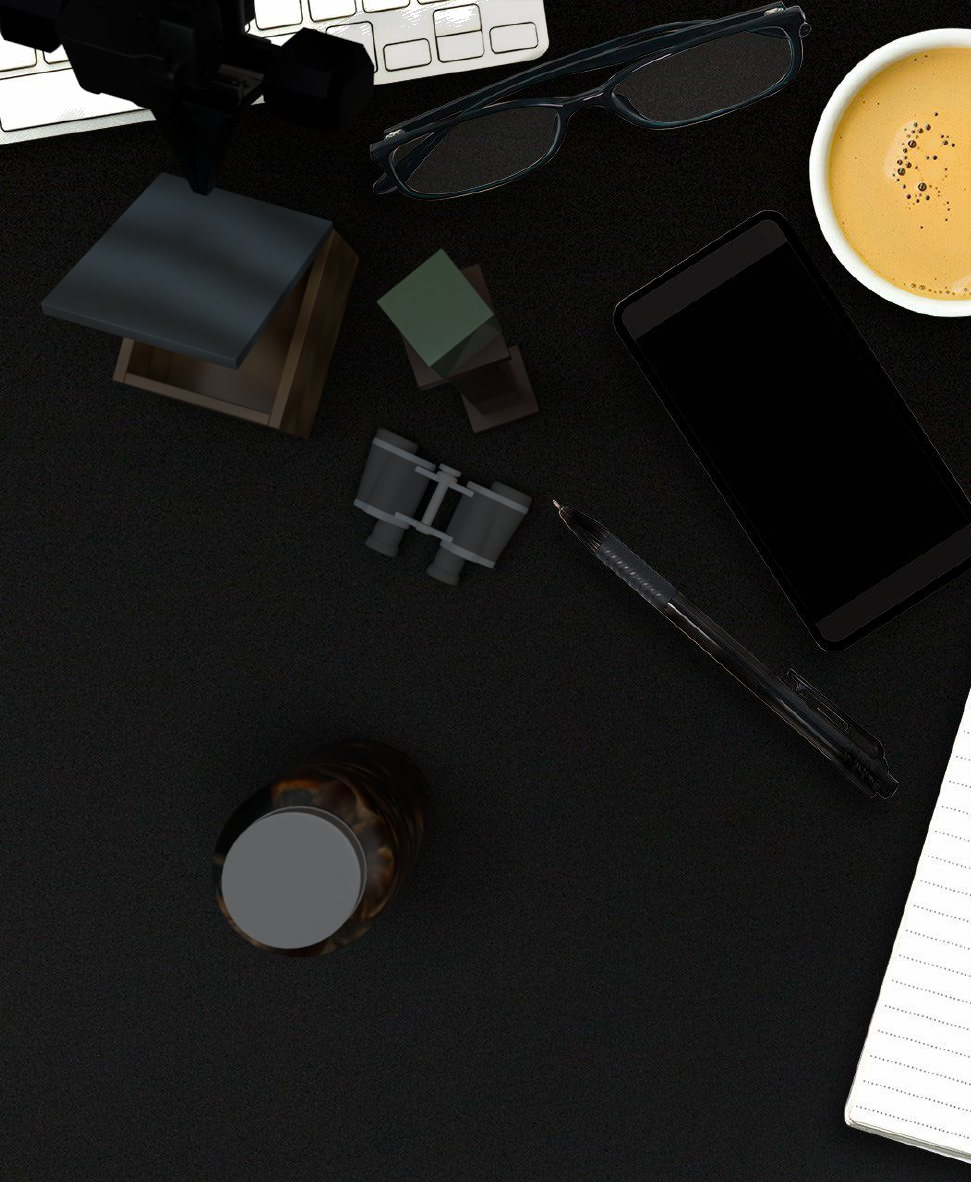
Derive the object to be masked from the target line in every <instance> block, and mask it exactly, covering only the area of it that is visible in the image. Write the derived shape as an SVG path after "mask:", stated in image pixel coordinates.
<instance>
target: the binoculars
mask: <svg viewBox="0 0 971 1182" xmlns="http://www.w3.org/2000/svg"><path fill="white" fill-rule="evenodd" d="M418 449H419V445H418V443H415V442H413V441H412V440H409V439H407V438H406V437H403V436H400V435H399V434H396V433H394V432H392V431H390V430H387V429H386V428H383V427H379V428H378V429H377V432H376V434H375V436H374V438H373V440H372V442H371V446H370V449H369V454H368V457H367V459H366V463H365V467H364V470H363V473H362V477H361V480H360V484H359V487H358V491H357V495H356V497H355V499H354V502H353V506H355V507H357V508H359V509H361V510H362V511H363V512H365V514H368V515H370V516H372V517H374V518H376V519H378V520H377V522H375V523H376V524H374V525H375V526H374V528H373V530H372V533H371V534H370V535H368V536H367V538H366V540H365V542H364V545H365V546H366V547H368V548H370V549H372V550H373V551H376V552H378V553H380V554H383V555H385V556H388V557H390V558H396V557H397V555H398V553H399V551H400V550H399V544H400V543H401V542H402V539H403V537H404V535H405V531H406V530H409V528H410V527H411V526H412V527H414V528H415V530H416V531H418V532H420V533H422V534H424V535H428V536H429V535H431V536H435V537H436V538H439V539H441V540H440V543H439V546H440V547H439V549H438V550H437V552H436V554H435V557H434V560H433V562H432V563H430V564H429V565H428V567H427V569H426V571H425V573H426V574H427V575H428V576H430V577H432V578H434V579H437V580H438V581H441V582H442V583H445V584H448V585H450V586H454V587H457V586H458V584H459V582H460V572H462V570H463V568H464V566H465V563H466V560H467V561H470V562H472V563H475V564H479V565H482V566H483V567H486V568H489V569H494V568H495V565H496V562H497V561H498V559H499V557H500V556H501V554H502V553H503V551H504V550H505V548H506V546H507V545H508V543H509V541H510V540H511V539H512V536H513V535H514V533H515V532H516V530H517V529H518V527H519V526H520V525H521V523H522V521H523V519H524V518H525V516H526V515H527V514H528V511H529V508H530V506H531V504H532V501H533V497H532V496H529V495H528V494H526V493H524V492H522V491H519V490H517V489H515V488H513V487H511V486H509V485H506V484H504V483H502V482H500V481H497V480H495V481H493V482H492V485H491V487H490V489H488V488H487V487H484V486H481V485H479V484H478V483H475V482H473V481H471V480H468V481H467V484H466V486H462V485H460V484H458V483H457V482H458V479H457V478H460V477H461V475H462V472H461V471H459V470H456V469H454V468H452V467H450V466H448V465H446V464H444V463H440V464H439V467H438V468H439V470H438V471H437V472H436V473H434V472H435V471H436V468H437V465H436V464H434V463H432V462H430V461H428V460H427V459H424V458H422V457H419V456H418V455H416V452H417V450H418ZM431 480H433V481H435V482H437V483H438V484H437V486H436V487H435V490H434V492H433V494H432V497H431V499H430V501H429V503H428V505H427V508H426V510H425V512H424V515H423V517H422V519H421V521H420V520H417V519H416V518H414V516H415V514H416V512H417V510H418V507H419V505H420V503H421V501H422V498H423V496H424V494H425V492H426V489H427V488H428V485H429V482H430V481H431ZM449 488H450V489H452V490H455V491H457V492H459V493H461V498H460V499H459V501H458V502H459V503H458V504H457V506H456V507H455V508H456V509H455V511H454V512H453V514H452V517H451V520H450V521H449V524H448V525H447V528H446V530H445V532H443V531H442V530H439V529H436V528H435V527H433V526H432V524H433V522H434V519H435V517H436V515H437V513H438V510H439V509H440V507H441V504H442V502H443V500H444V497H445V495H446V493H447V491H448V489H449Z"/></svg>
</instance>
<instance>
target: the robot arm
mask: <svg viewBox="0 0 971 1182" xmlns="http://www.w3.org/2000/svg"><path fill="white" fill-rule="evenodd" d="M255 19H256V2H255V0H0V36H1V38H2V39H3V41H6V42H9V43H12V44H16V45H18V46H19V45H20V46H22V47H26V48H30V49H33V50H37V51H41V52H43V53H47V54H52V53H54V52H55V51H57V50H58V49H59V48H60V47H62V48H63V51H64V53H65V55H66V58H67V60H68V62H69V65H70V67H71V69H72V72H73V75H74V77H75V78H76V79H75V80H76V82H77V83H78V85H79V87H80V88H81V89H82V90H83V91H86V92H87V93H90V94H93V95H95V96H96V95H98V96H99V95H101V94H103V95H107V96H109V97H113V98H117V99H119V100H124V101H128V102H131V103H132V104H134V105H135V106H136V107H138V108H142V109H144V110H149V111H150V112H151V114H152V116H153V118H154V120H155V121H156V122H157V124H158V126H159V128H160V129H161V131H162V133H163V135H164V137H165V139H166V140H167V143H168V145H169V147H170V149H171V151H172V153H173V155H174V158H175V159H176V161H177V163H178V166H179V167H180V169H181V171H182V173H183V175H184V177H185V179H187V181H188V183H189V185H190V187H191V189H192V191H193V192H194V193H196V194H201V195H203V196H208V195H209V194H210V193H211V192H212V191H213V189H214V187H215V188H216V184H217V182H218V179H219V176H220V174H221V171H222V168H223V165H224V163H225V160H226V157H227V154H228V153H229V150H230V146H231V143H232V141H233V138H234V135H235V133H236V131H237V127H238V125H239V122H240V121H241V118H242V116H243V114H244V112H245V111H246V110H248V108H250V107H251V106H252V105H253V104H254V103H255V102H257V100H259V99H260V98H261V97H262V100H263V102H264V103H265V105H266V106H267V107H268V108H269V110H270V111H271V113H272V114H273V115H274V116H275V118H276V119H277V120H278V121H281V122H285V123H288V124H292V125H295V126H297V127H302V128H306V129H309V130H312V131H316V132H319V133H323V134H332V133H340V132H341V131H342V130H343V129H344V128H345V126H347V125H348V123H350V121H351V120H352V119H353V118H354V117H355V116H356V115H357V114H358V113H359V112H360V111H361V109H363V108H364V106H365V105H366V104H367V103H368V102H369V101H370V100H371V99H372V98H373V97H374V95H375V94H374V93H375V67H376V66H375V63H374V62H373V60H372V58H371V56H370V54H369V52H368V51H367V48H366V46H365V44H364V43H361V42H357V41H354V40H351V39H348V38H344V37H341V36H337V35H334V34H331V33H327V32H324V31H320V30H316V29H313V28H310V27H306V26H303V27H301V28H300V29H299V30H298V31H297V32H295V33H294V34H293V35H292V36H291V37H290V38H288V39H287V40H286V41H285V42H283V44H281V45H280V44H275V43H273V42H272V40H271V39H270V38H267V37H264V36H260V35H256V34H253V33H250V32H247V31H246V26H248V24H250V23H251V22H253V21H254V20H255Z"/></svg>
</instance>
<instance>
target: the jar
mask: <svg viewBox="0 0 971 1182" xmlns="http://www.w3.org/2000/svg"><path fill="white" fill-rule="evenodd" d="M432 802H433V801H432V797H431V793H430V790H429V788H428V785H427V783H426V781H425V779H424V777H423V775H422V774H421V772H420V770H419V769H418V768H417V767H416V766H415V764H414V763H413V762H412V761H410V759H408V758H407V756H405V755H403V753H401V752H399V751H398V750H396V749H394V748H393V747H391V746H389V745H387V744H384V743H380V742H377V741H373V740H368V739H344V740H339V741H335V742H334V741H333V742H331V743H328V744H325V745H323V746H320V747H319V748H317V749H315V750H313V751H311V752H309V753H308V754H306V755H305V756H303V757H301V758H299V759H298V760H296V761H295V762H294V763H292V764H290V765H289V766H287V767H286V768H285V769H283V770H282V771H280V772H279V773H277V774H275V775H274V776H273V777H271V778H270V779H268V780H267V781H266V782H264V783H263V784H262V785H260V786H259V787H257V788H256V789H255V790H254V791H252V792H251V793H250V794H249V795H248V796H246V797H245V798H244V799H243V800H242V801H241V802H240V803H239V805H237V807H236V808H235V809H234V811H233V812H232V813H231V815H230V816H229V817H228V818H227V820H226V821H225V823H224V825H223V827H222V829H221V830H220V833H219V834H218V837H217V841H216V843H215V846H214V849H213V850H214V851H213V855H212V863H211V879H212V885H213V886H212V887H213V891H214V894H215V898H216V901H217V904H218V906H219V908H220V910H221V912H222V915H223V916H224V918H225V919H226V920H227V922H228V924H230V926H231V927H232V928H233V929H234V930H235V932H237V933H238V935H240V936H241V938H243V939H244V940H246V941H247V942H249V943H250V944H251V945H254V947H257V948H259V949H260V950H263V951H265V952H268V953H271V954H274V955H277V956H282V957H287V958H314V957H319V956H324V955H327V954H330V953H331V954H332V953H334V952H337V951H339V950H341V949H343V948H345V947H347V946H349V945H350V944H353V942H355V941H356V940H358V939H360V937H362V936H363V935H365V934H366V933H367V932H368V931H369V930H370V929H371V928H372V927H373V926H374V925H375V924H376V923H377V922H378V921H379V919H381V917H382V916H383V915H384V913H385V912H386V911H387V910H388V908H389V907H390V905H391V904H392V902H394V899H395V898H396V897H397V896H398V894H399V892H400V891H401V890H402V888H403V886H404V885H405V883H406V882H407V880H408V879H409V877H410V875H412V872H413V871H414V869H415V868H416V866H417V864H418V863H419V861H420V860H421V858H422V856H423V854H424V853H425V850H426V848H427V845H428V843H429V841H430V836H431V832H432V828H433V819H434V817H433V815H434V811H433V803H432Z"/></svg>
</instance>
